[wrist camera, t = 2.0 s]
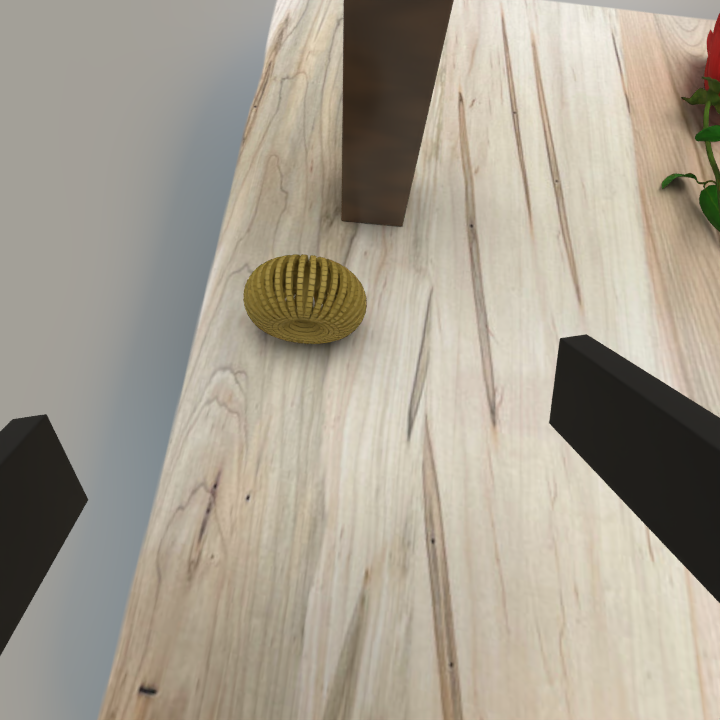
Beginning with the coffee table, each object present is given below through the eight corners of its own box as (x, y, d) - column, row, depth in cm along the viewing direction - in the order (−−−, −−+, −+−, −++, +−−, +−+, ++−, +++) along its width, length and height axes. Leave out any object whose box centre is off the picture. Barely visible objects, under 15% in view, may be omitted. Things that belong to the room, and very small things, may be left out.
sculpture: (252, 348, 32) (225, 299, 24) (258, 298, 33) (235, 237, 26) (362, 354, 32) (369, 307, 25) (364, 304, 33) (371, 245, 26)
